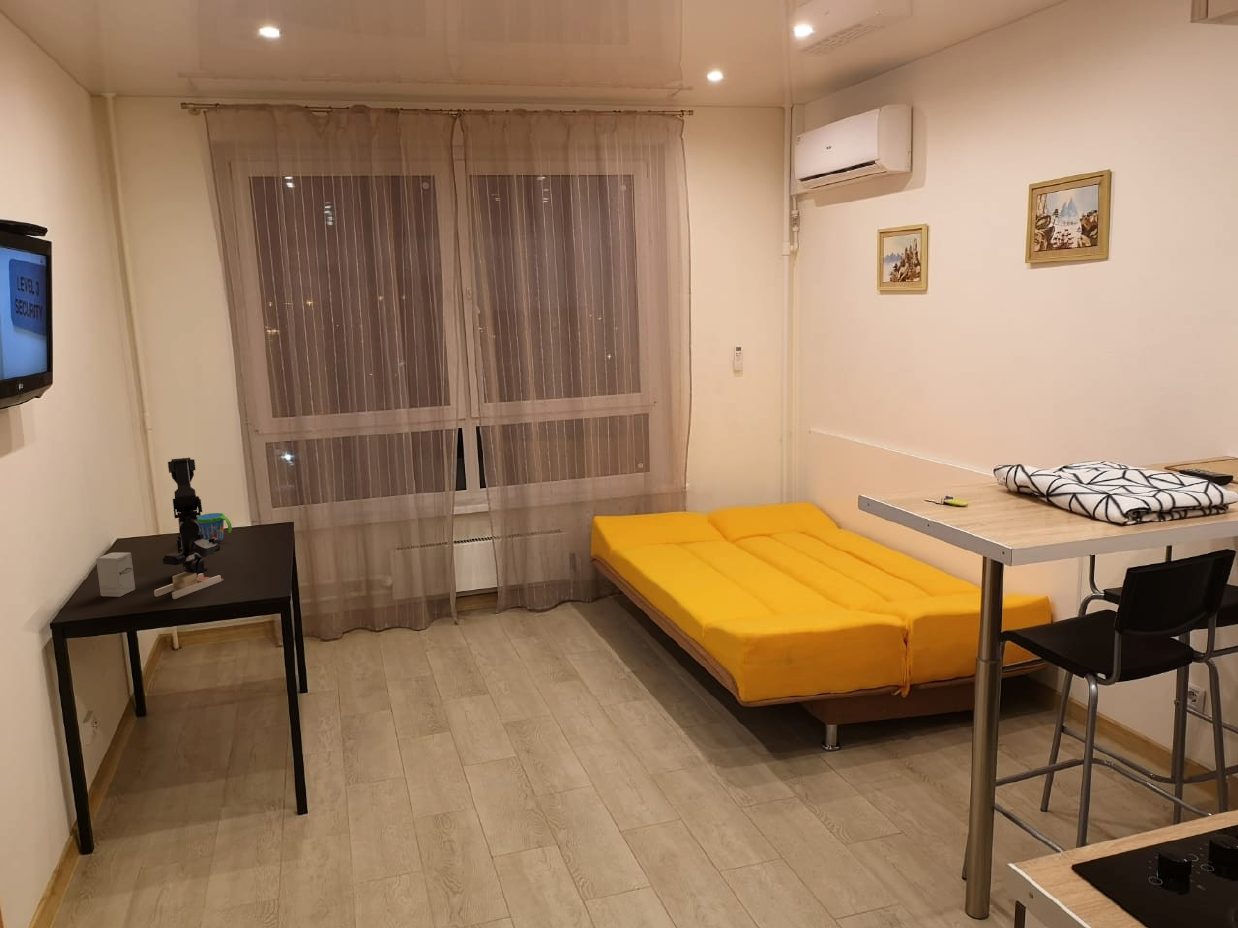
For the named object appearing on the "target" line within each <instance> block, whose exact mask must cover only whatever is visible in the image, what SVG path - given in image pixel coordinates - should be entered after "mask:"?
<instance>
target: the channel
mask: <svg viewBox="0 0 1238 928" xmlns="http://www.w3.org/2000/svg"><path fill="white" fill-rule="evenodd" d="M223 581H225V580H224V578H222V576H221V575H220V574H219V575H215V576H213V577H212V576H211V577H210V576H209V577H208V576H205V575H204V573H202V572H199V573H198V576H197V583H196V584H194V585H191V586H188V587H185V588H183V589H180V590H177V591H174V586H173V583H171V584H167V585H165V586H162V587H160V588H157V589H154V590H153V594H154V597H157V598H158V597H160V596H162V595H166V594H168V593H171V596H172V597H171V598H172V599H173V600H176V599H179V598H181V597H184V596H186V595H189V594H193V592H197V591H200V590H202V589H205V588H208V587H210V586H213V585H215V584H218V583H221V582H223Z"/></svg>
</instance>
